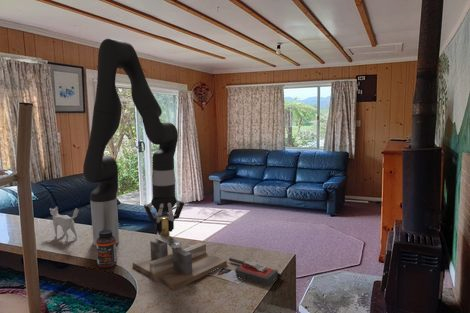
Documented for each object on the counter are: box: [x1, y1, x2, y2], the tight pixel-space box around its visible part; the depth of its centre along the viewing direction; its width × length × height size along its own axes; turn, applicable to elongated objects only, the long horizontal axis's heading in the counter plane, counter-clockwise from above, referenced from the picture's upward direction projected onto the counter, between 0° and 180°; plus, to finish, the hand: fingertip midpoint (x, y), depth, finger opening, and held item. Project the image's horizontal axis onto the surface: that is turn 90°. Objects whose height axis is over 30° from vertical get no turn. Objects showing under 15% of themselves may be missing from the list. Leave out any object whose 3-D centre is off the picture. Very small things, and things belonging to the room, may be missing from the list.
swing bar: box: [159, 216, 183, 250], centre depth 114 cm, size 13×3×7 cm, turn 33°
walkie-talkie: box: [228, 257, 283, 288], centre depth 106 cm, size 9×4×20 cm
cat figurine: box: [49, 205, 80, 243], centre depth 136 cm, size 4×20×14 cm, turn 54°
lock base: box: [132, 238, 228, 291], centre depth 111 cm, size 22×21×8 cm
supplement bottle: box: [95, 230, 117, 269], centre depth 113 cm, size 6×6×11 cm
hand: (164, 231), depth 118 cm, fingers closed on swing bar, 3 cm apart
